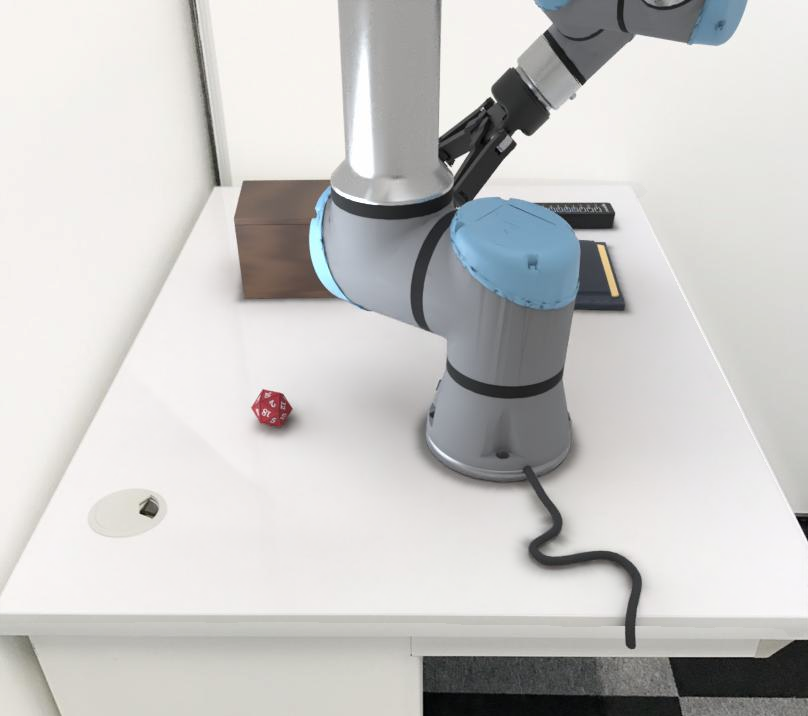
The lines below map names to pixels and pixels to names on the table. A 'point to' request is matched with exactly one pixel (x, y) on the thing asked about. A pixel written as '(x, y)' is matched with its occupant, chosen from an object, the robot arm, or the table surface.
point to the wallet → (597, 279)
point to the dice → (271, 408)
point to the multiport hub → (584, 214)
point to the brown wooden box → (278, 238)
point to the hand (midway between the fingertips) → (408, 214)
